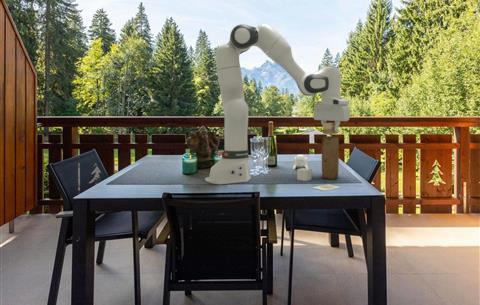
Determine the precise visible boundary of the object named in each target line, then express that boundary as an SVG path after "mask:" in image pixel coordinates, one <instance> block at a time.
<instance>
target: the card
mask: <svg viewBox="0 0 480 305" xmlns="http://www.w3.org/2000/svg"><path fill="white" fill-rule="evenodd" d="M341 188H342V187H341V186H337V185H334V184H328V183H327V184H324V185H319V186H314V187H313V186H312V189H315V190H318V191H322V192H328V191H333V190H337V189H338V190H339V189H341Z"/></svg>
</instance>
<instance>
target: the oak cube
mask: <svg viewBox="0 0 480 305" xmlns="http://www.w3.org/2000/svg"><path fill="white" fill-rule="evenodd" d="M335 124H336V123H335V122H325V123H323V125H322V134H326V135H336V134H339V129H338V130H337V131H334V130H333V127H335Z"/></svg>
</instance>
